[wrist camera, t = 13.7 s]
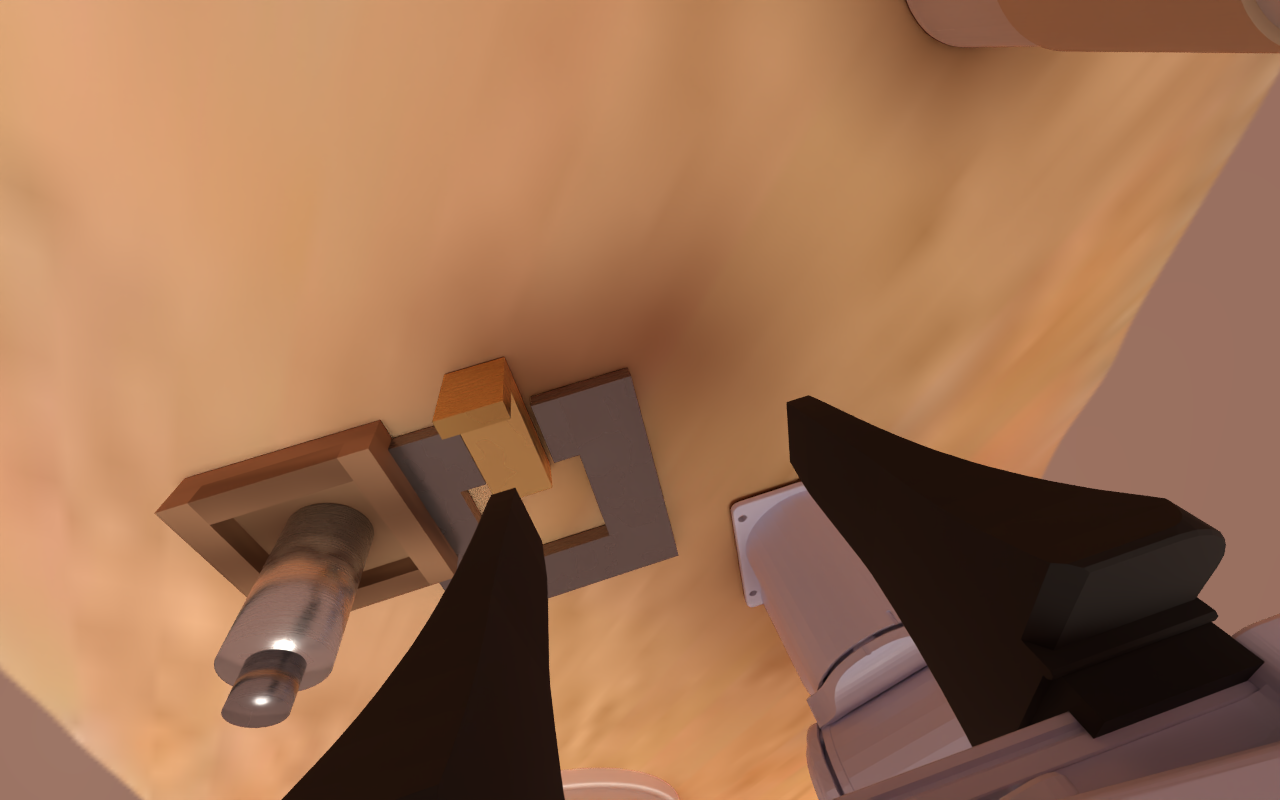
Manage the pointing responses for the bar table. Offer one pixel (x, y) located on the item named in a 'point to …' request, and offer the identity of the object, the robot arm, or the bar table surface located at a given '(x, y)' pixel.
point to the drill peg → (294, 614)
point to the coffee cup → (1105, 24)
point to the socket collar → (571, 425)
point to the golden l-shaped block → (493, 427)
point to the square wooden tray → (307, 475)
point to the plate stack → (614, 785)
